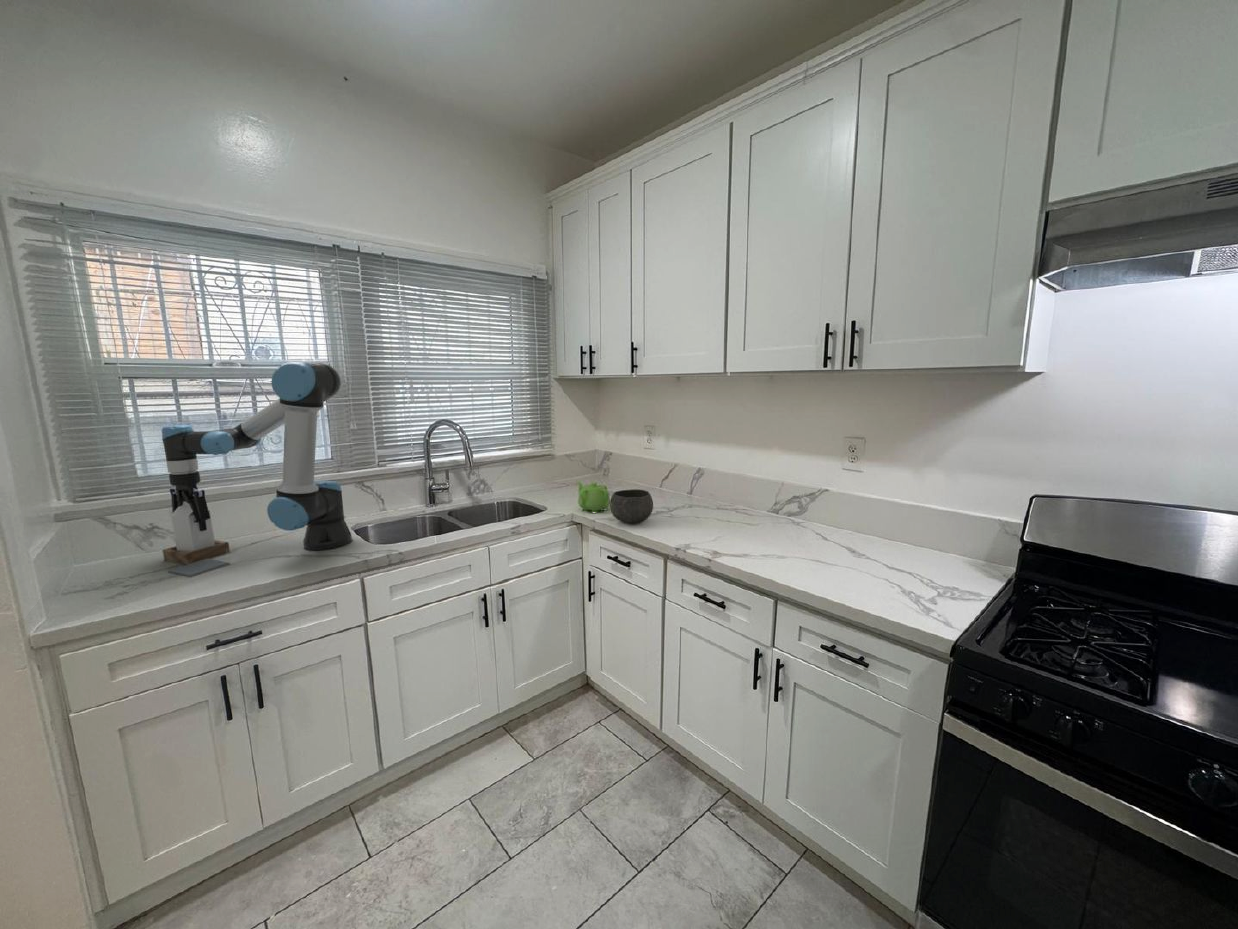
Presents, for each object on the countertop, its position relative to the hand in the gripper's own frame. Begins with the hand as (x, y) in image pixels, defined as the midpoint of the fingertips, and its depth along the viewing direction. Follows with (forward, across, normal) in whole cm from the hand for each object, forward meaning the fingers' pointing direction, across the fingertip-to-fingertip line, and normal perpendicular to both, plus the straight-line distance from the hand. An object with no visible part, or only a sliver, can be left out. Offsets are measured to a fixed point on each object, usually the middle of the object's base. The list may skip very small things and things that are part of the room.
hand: (194, 538), depth 164 cm
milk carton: (+6, 0, 0) cm, 6 cm away
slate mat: (+6, -13, +7) cm, 16 cm away
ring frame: (+6, 0, 0) cm, 6 cm away
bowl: (+6, -127, -85) cm, 153 cm away
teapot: (+6, -104, -98) cm, 143 cm away
